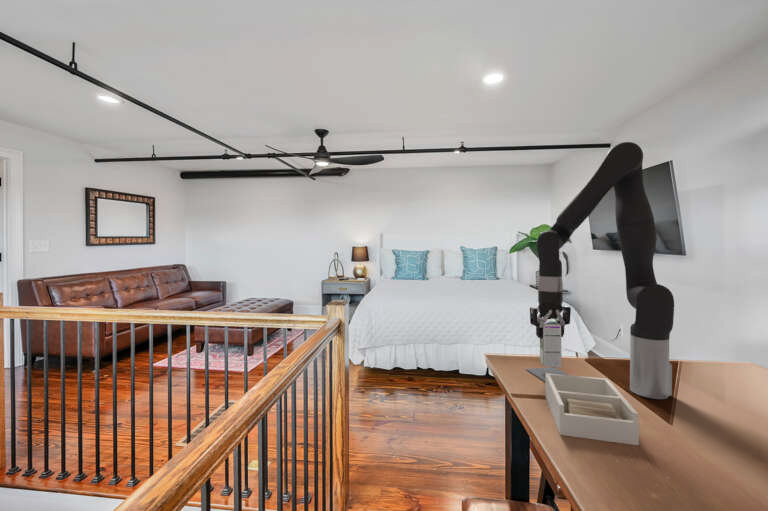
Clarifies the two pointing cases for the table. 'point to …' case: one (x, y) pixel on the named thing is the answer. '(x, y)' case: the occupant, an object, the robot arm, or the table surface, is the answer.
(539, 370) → the rubber mat
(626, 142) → the robot arm
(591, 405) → the offcut stack
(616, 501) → the table surface
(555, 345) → the syrup box
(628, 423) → the white divided tray
